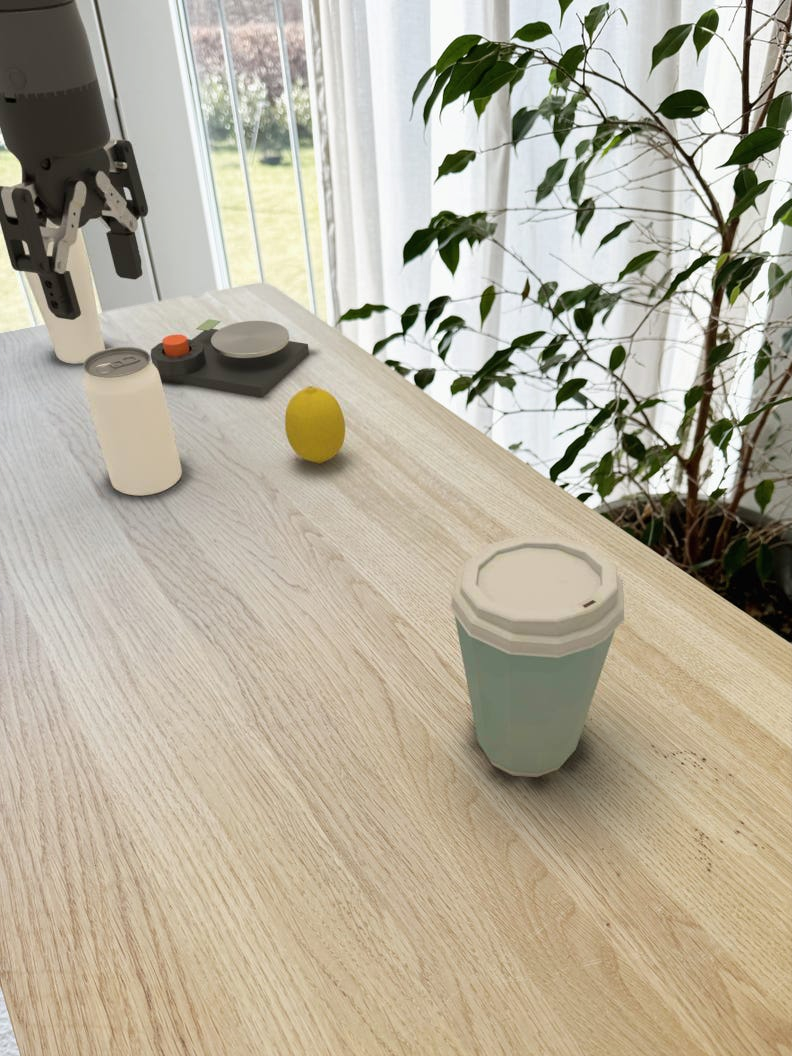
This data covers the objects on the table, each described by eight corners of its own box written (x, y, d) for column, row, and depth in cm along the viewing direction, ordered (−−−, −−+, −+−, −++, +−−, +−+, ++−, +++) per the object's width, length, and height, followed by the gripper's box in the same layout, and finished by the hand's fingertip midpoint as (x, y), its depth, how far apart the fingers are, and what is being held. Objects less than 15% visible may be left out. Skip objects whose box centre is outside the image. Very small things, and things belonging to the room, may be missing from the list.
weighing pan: (172, 347, 109) (170, 343, 108) (212, 316, 115) (211, 312, 114) (266, 363, 106) (265, 358, 106) (302, 330, 112) (302, 326, 111)
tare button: (160, 356, 108) (157, 342, 107) (173, 346, 110) (170, 332, 109) (181, 359, 107) (178, 346, 106) (194, 349, 109) (191, 336, 108)
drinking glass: (38, 365, 112) (-5, 228, 102) (71, 339, 117) (32, 206, 107) (93, 371, 111) (54, 234, 101) (123, 345, 116) (89, 211, 106)
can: (99, 479, 94) (63, 361, 87) (160, 454, 98) (131, 337, 90) (135, 507, 91) (101, 386, 83) (196, 480, 94) (169, 360, 86)
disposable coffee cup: (421, 736, 70) (411, 563, 60) (536, 667, 75) (544, 498, 65) (524, 830, 64) (531, 654, 54) (641, 748, 69) (667, 574, 59)
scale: (146, 382, 109) (140, 356, 107) (203, 338, 117) (199, 313, 115) (258, 402, 106) (254, 376, 104) (309, 355, 114) (306, 330, 112)
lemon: (283, 457, 97) (271, 381, 92) (336, 443, 99) (328, 368, 94) (302, 484, 94) (291, 407, 88) (357, 469, 96) (350, 393, 90)
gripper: (60, 51, 78) (112, 260, 89) (-72, 96, 68) (5, 325, 79) (143, 58, 76) (186, 270, 87) (19, 104, 66) (85, 338, 77)
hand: (100, 296), depth 83 cm, fingers open, 8 cm apart
